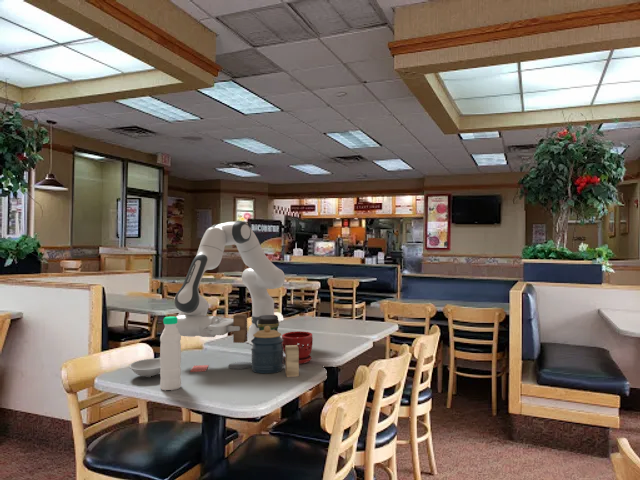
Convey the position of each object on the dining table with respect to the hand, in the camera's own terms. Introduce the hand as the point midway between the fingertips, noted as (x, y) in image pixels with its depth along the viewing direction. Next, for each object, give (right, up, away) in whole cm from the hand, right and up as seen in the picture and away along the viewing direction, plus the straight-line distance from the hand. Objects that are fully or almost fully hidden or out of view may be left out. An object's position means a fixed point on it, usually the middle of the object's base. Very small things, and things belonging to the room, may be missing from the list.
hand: (242, 327), depth 199 cm
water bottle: (-20, -16, -30) cm, 40 cm away
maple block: (+22, -16, -14) cm, 30 cm away
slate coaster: (-1, -16, 0) cm, 16 cm away
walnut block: (-1, -6, 0) cm, 6 cm away
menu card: (-17, -17, -4) cm, 24 cm away
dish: (-33, -16, -15) cm, 40 cm away
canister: (+11, -16, -6) cm, 21 cm away
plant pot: (+23, -16, +7) cm, 29 cm away
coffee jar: (+9, -17, +18) cm, 26 cm away
